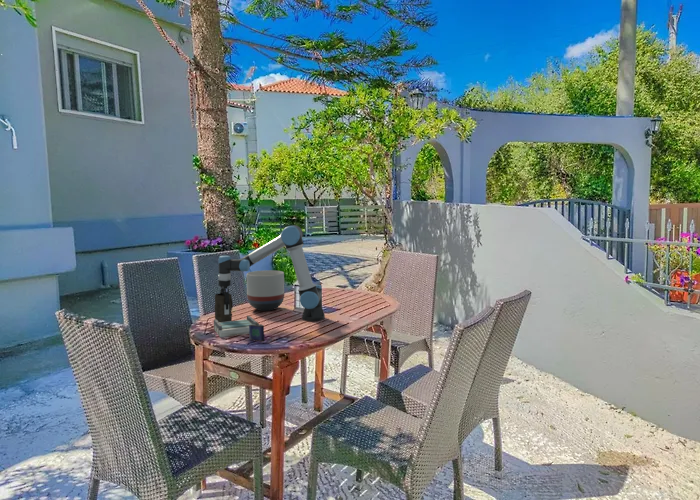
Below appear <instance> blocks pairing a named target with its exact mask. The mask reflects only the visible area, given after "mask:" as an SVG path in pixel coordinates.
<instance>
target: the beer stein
mask: <svg viewBox="0 0 700 500" xmlns="http://www.w3.org/2000/svg"><path fill="white" fill-rule="evenodd" d="M229 300H230V304H229V314H226V315H225V314H224V303H225V295H223V294H221V293H220V292H219V293H215V294H214V319H217V321H218V322H227V321H233V320H232V319H233V318H232V317H233V314H232V310H233V297H232V294H231V293H229Z"/></svg>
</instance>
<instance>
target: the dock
mask: <svg viewBox="0 0 700 500" xmlns="http://www.w3.org/2000/svg"><path fill="white" fill-rule="evenodd" d="M255 322H257V321H256V320H255V319H254V318H253V317H252V316H250V315H246V318H245V319H238V320H237V319H236V320H232V321H227V322H218V321H217V319H215V318H214V319H213V331H215V333H216V334H217V335H218V337H219V338H226V337H233V336H234V337H235V335H236V336H244V335H249V325H250V324H255Z"/></svg>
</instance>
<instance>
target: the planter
mask: <svg viewBox="0 0 700 500" xmlns="http://www.w3.org/2000/svg"><path fill="white" fill-rule="evenodd" d="M246 297H247V303H249V305H250V306H251V307H252V308H254V309H255V310H257V311H262V312H264V311H265V312H267V311H272V310H276V309H277V308H278V307H279V306H281V305H282V303H283V302H284V300H285V272H284V271H282V270H275V269H274V270H273V269H271V270H269V269H268V270H254V271H249V272H247V273H246Z"/></svg>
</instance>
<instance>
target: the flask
mask: <svg viewBox="0 0 700 500" xmlns="http://www.w3.org/2000/svg"><path fill="white" fill-rule="evenodd" d="M264 327H265V326H264V325H263V324H260V323H259V322H258V321H256V322H255V324H250V325H249V334H248V335H249V338H248V339H249V340H250V341H254V340H255V341H256V342H264V341H265V328H264Z"/></svg>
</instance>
